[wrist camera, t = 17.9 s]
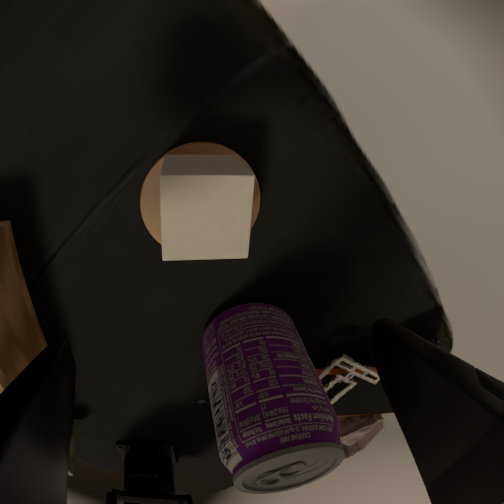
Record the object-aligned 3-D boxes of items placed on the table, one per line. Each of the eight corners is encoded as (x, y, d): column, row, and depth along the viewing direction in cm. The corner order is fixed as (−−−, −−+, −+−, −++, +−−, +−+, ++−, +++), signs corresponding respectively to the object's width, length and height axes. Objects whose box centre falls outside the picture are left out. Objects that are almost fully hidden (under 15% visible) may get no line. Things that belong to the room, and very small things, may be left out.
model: (256, 344, 25) (257, 340, 25) (244, 423, 30) (245, 420, 31) (393, 359, 24) (392, 355, 24) (350, 434, 29) (350, 430, 30)
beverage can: (231, 375, 27) (262, 502, 16) (182, 326, 23) (197, 480, 13) (304, 337, 26) (363, 460, 16) (267, 279, 22) (333, 427, 12)
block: (233, 221, 19) (248, 258, 15) (165, 222, 18) (162, 260, 15) (237, 154, 17) (255, 175, 14) (164, 154, 17) (159, 175, 13)
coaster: (253, 251, 21) (255, 255, 21) (144, 254, 20) (143, 259, 19) (263, 143, 18) (265, 145, 17) (139, 142, 16) (138, 144, 16)
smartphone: (435, 402, 28) (437, 408, 27) (284, 410, 31) (283, 417, 30) (456, 355, 24) (458, 362, 24) (279, 365, 28) (278, 372, 27)
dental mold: (311, 466, 30) (299, 432, 34) (362, 454, 31) (348, 424, 36) (335, 429, 26) (319, 391, 31) (392, 416, 28) (373, 384, 32)
